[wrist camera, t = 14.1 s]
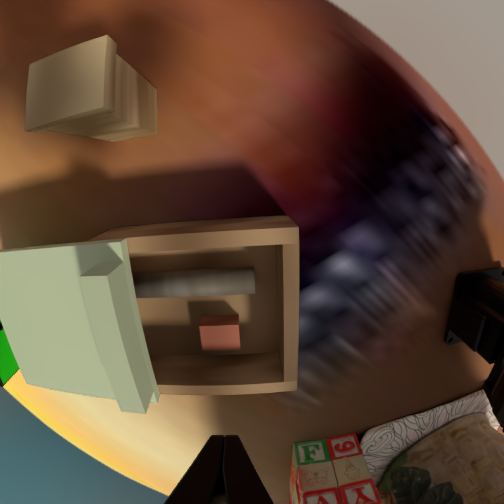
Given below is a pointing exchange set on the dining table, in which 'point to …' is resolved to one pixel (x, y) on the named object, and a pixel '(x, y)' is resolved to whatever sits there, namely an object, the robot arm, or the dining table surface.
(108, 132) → the oak block
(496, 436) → the cookie jar
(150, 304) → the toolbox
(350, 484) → the stack of blocks
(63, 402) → the dining table surface
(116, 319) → the lid
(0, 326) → the puzzle cube
